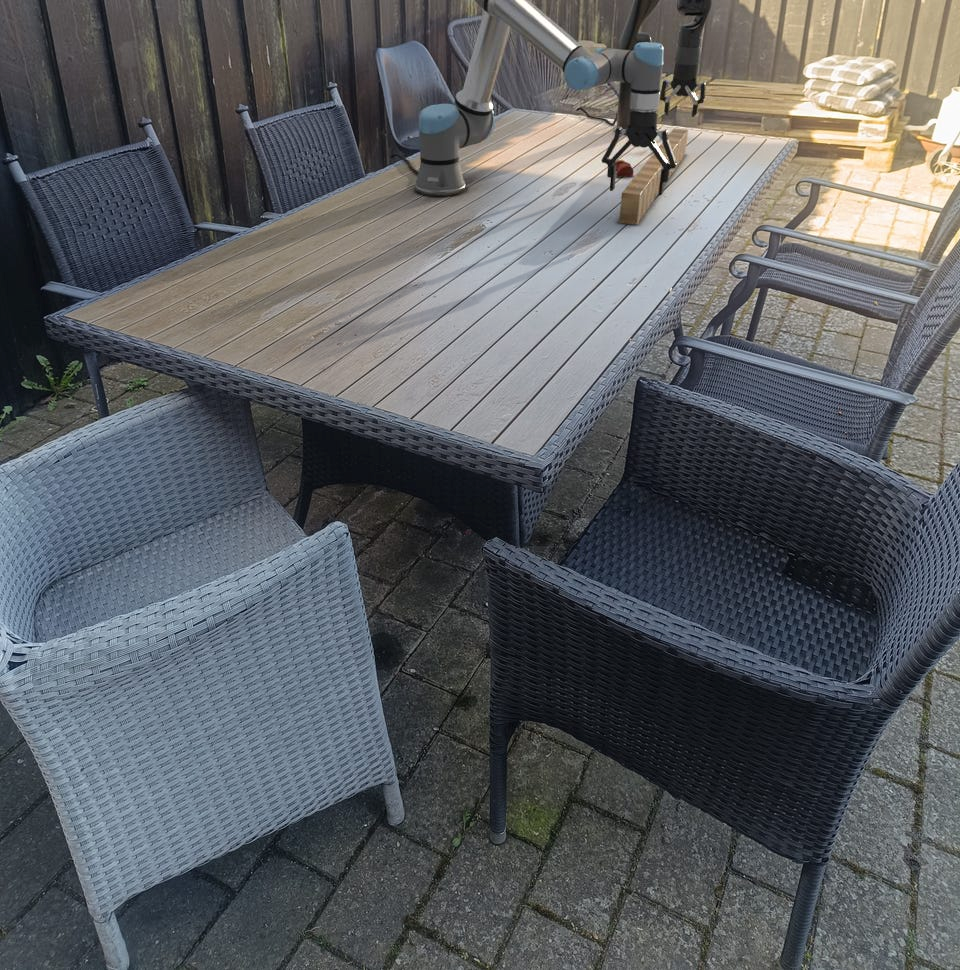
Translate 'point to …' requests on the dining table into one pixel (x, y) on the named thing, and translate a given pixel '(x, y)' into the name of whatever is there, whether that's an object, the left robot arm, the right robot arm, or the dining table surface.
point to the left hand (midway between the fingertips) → (636, 191)
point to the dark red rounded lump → (623, 168)
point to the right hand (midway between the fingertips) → (680, 115)
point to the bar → (649, 181)
